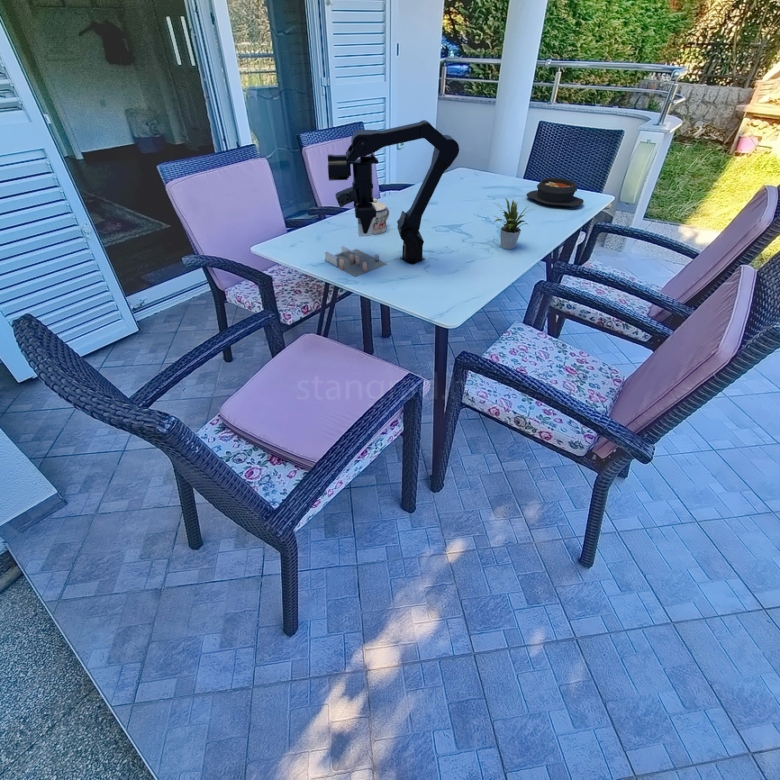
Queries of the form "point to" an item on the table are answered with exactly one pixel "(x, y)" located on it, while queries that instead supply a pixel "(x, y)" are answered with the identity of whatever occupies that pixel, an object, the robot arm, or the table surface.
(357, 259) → the pegs
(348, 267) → the mat
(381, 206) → the teacup with lid
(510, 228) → the house plant
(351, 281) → the table surface
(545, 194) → the casserole
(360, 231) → the block
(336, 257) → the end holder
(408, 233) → the robot arm
